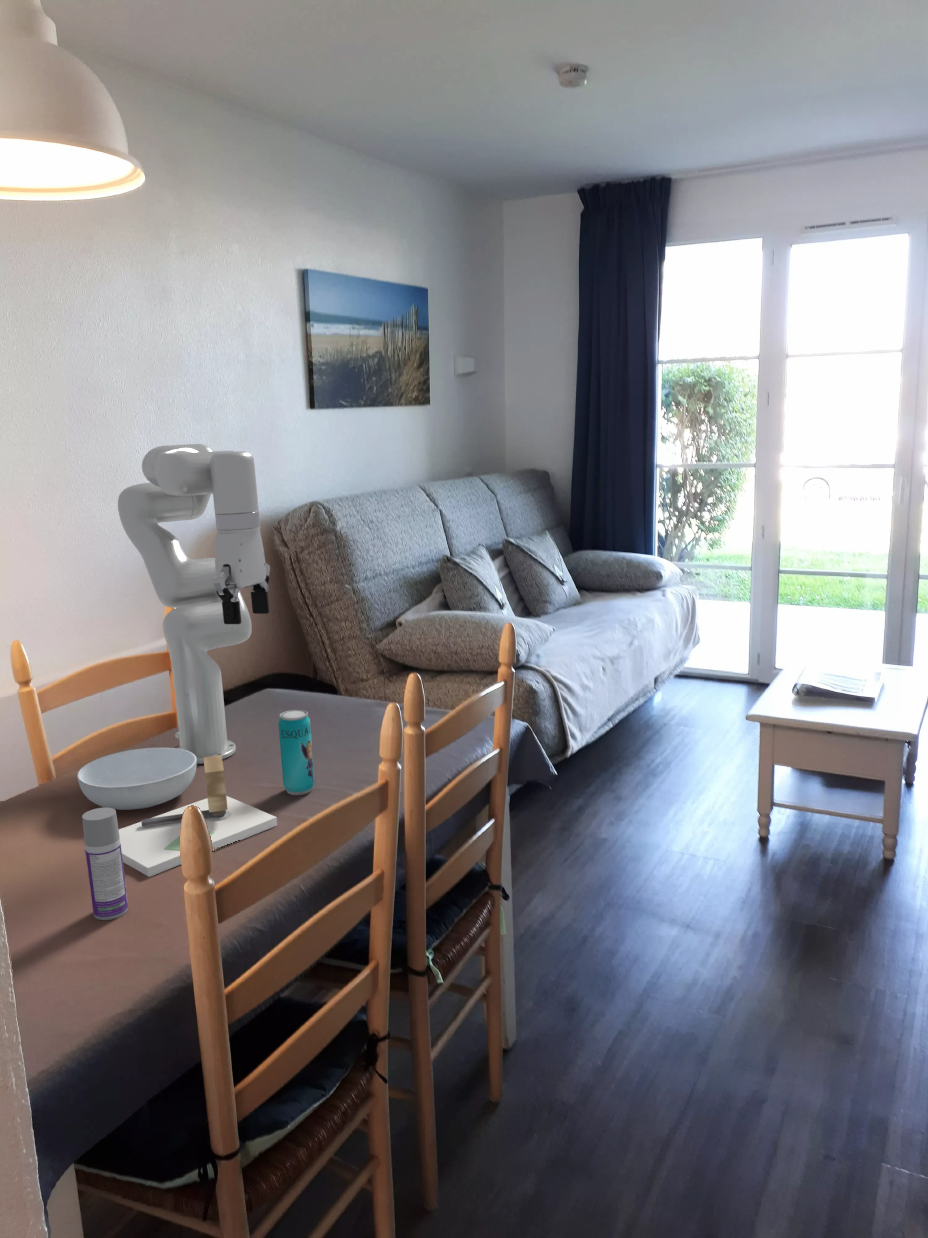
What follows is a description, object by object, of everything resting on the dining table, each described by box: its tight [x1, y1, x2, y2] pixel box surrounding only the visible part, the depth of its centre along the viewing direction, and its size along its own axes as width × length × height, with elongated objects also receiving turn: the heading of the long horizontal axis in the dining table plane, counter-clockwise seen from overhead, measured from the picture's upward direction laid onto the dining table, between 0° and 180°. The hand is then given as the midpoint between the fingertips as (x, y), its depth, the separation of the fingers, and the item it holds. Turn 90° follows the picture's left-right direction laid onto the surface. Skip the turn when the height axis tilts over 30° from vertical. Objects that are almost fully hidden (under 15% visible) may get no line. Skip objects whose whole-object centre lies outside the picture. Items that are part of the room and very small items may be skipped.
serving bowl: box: [76, 746, 198, 811], centre depth 177 cm, size 21×21×7 cm
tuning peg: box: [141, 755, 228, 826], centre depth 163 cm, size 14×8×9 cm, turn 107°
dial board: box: [118, 795, 278, 878], centre depth 162 cm, size 18×24×2 cm
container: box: [81, 807, 129, 921], centre depth 136 cm, size 5×5×15 cm
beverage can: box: [277, 709, 315, 796], centre depth 178 cm, size 6×6×15 cm
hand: (247, 618), depth 173 cm, fingers open, 9 cm apart
